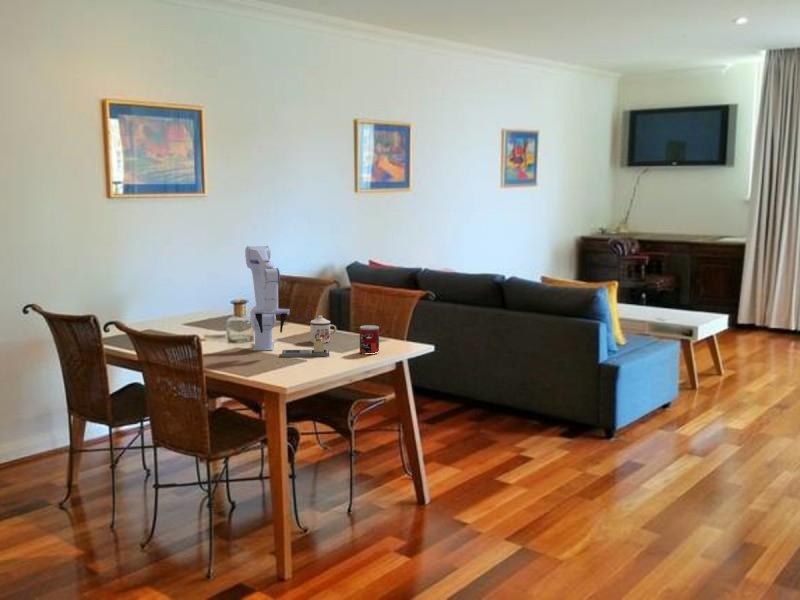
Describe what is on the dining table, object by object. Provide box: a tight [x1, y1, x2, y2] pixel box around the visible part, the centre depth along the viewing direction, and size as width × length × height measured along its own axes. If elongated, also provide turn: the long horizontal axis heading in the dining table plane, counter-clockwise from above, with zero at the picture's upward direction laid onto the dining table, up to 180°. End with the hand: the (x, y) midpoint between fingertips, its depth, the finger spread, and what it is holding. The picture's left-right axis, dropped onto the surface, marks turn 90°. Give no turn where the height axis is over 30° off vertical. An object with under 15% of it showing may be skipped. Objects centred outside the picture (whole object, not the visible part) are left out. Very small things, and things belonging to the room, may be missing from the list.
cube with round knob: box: [313, 338, 325, 353], centre depth 319 cm, size 4×4×7 cm
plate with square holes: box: [281, 348, 330, 358], centre depth 319 cm, size 7×19×2 cm, turn 95°
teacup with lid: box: [309, 315, 337, 344], centre depth 347 cm, size 12×9×12 cm
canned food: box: [359, 324, 380, 354], centre depth 324 cm, size 8×8×11 cm
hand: (271, 332), depth 315 cm, fingers open, 7 cm apart
